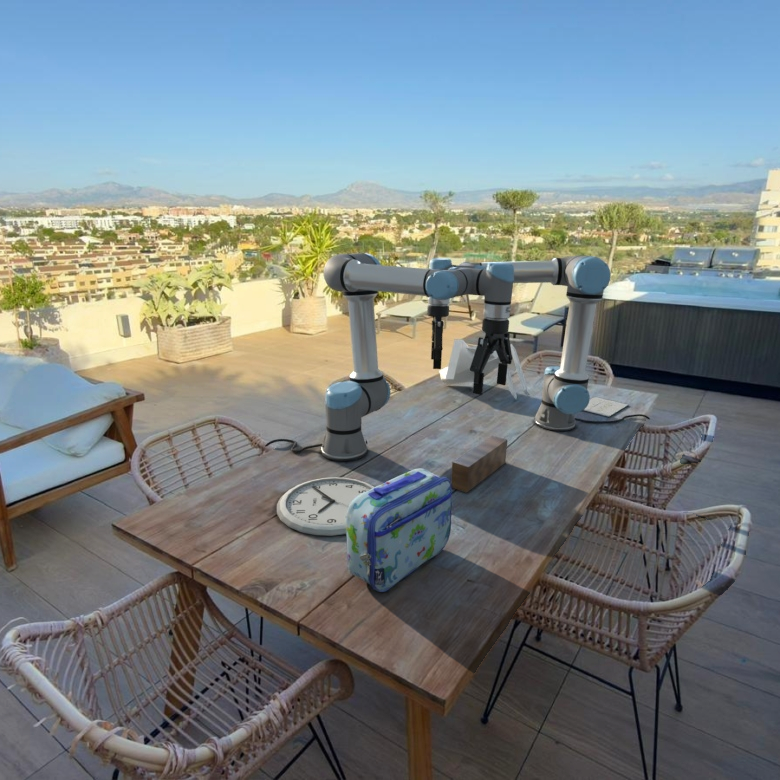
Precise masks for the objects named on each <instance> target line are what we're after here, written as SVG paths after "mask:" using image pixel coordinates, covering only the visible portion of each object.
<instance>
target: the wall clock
mask: <svg viewBox="0 0 780 780" xmlns="http://www.w3.org/2000/svg"><path fill="white" fill-rule="evenodd" d="M375 487H376V486H374V485H372V484H371V483H369V482H365V481H362V480H359V479H355V478H349V477H338V476H337V477H335V476H333V477H332V476H331V477H322V478H317V479H312V480H307V481H305V482H302V483H299V484H297V485H295V486H293V487H292V488H290V489H288V490H287V491H286V492H285V493H284V494H283V495H281V496H280V498H279V499H278V502H277V503H276V515H277V517H278V518H279V520H280V521H281V522H282V523H283V524H285V525H286V526H287V527H288V528H290V529H293V530H295V531H297V532H299V533H303V534H308V535H312V536H327V537H328V536H329V537H331V536H332V537H333V536H342V535H346V515H347V510H348V507H349V505H350V504H351V502H352V501H353V500H354V498H356V497H357V496H358V495H360V494H362V493H364V492H366V491H368V490H370V489H373V488H375Z"/></svg>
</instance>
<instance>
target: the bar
mask: <svg viewBox="0 0 780 780" xmlns="http://www.w3.org/2000/svg"><path fill="white" fill-rule="evenodd" d="M507 446H508V439H507V438H503V437H500V436H496V435H491V436H489V437H488V438H487V439H485V440H483V441H482V442H480V443H479V444H478V445H476V446H474V447H473V448H471V449H469V450H468V451H467V452H465V453H464V454H462V455H460V456H459V457H458V458H456V459H455V460H453V461H451V476H450V477H451V478H450V482H451V489H454V490H457V491H460V492H463V493H467V494H468V493H469V492H470V491H471V490H472V489H474V488H475V487H477V486H478V485H479V484H480V483H481V482H483V481H484V480H486V479H487V478H488V477H489V476H490V475H492V474H493V473H494V472H495V471H497V470H498V469H499V468H501V467H502V466H503V465H504V464H506V460H507Z"/></svg>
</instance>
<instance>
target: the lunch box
mask: <svg viewBox="0 0 780 780" xmlns="http://www.w3.org/2000/svg"><path fill="white" fill-rule="evenodd" d="M374 487H375V488H373V489H370V490H368V491H366V492H364V493H362V494H360V495H358V496H357V497H356V498H354V500H353V501H352V502H351V504H350V505H349V507H348V510H347V515H346V534H345V535H346V559H347V561H346V562H347V567H348V571H349V573H350V574H351V575H353V576H354V577H357V578H358V579H361V580H362V581H364V582H365V583H366V584H368V585H370V587H371V588H372V589H373V590H375V591H377V592H379V593H385V592H387V591H389V590H390V589H392V588H393V587H394V586H395V585H396V584H397V583H399V582H401V581H402V580H403V579H404V578H406V577H408V576H409V575H411V573H413V572H414V571H415V570H417V569H418V568H419V567H420V566H422V564H424V563H426V562H428V560H431V559H433V558H435V557H436V556H437V555H438V554H440V553H441V552H442V551H443V550H444V549H445V547H446V546H447V543H448V541H449V539H450V536H451V531H452V511H453V510H452V509H453V508H452V507H453V504H452V503H453V501H452V500H453V499H452V488H451V479H449V478H448V477H446V476H439V475H437V474H435V473H433V472H432V471H429V470H428V469H426V468H423V467H421V468H419V467H418V468H414V469H412V470H409V471H406V472H405V473H403V474H400V475H398V476H396V477H394V478H391V479H390V480H387V481H385V482H383V483H381V484H378V485H376V486H374Z"/></svg>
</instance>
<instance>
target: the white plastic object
mask: <svg viewBox="0 0 780 780" xmlns="http://www.w3.org/2000/svg"><path fill="white" fill-rule="evenodd" d="M510 346H511V352H512V361H513V363H514V366H515V369H516V372H517V376H518V380H519V382H520V385H521V389H522V391H523V393H524V395H525V396H526V397H528V396H531V395H530V390H529V388H528V387H529V386H528V384H527V381H526V378H525V375H524V371H523V369H522V368H523V367H522V366H521V362H520V359H519V355H518V352H517V349H516V347H515V346H514V345H513V343H510ZM476 348H477V345H473V346H469V345H468V343H466V342H465V340H464V339H463V338H460V339H458V338H454V340H453V344H452V349H451V353H450V357H449V362H448V366H446V367H444V368H441V369H438V370H439V371H438V372H439V376H440V381H442V383H443V384H444V385H445V386H449V385H458V384H467V383H468V384H469V383H474V372H472V371H470V367H471V364H472V360H473V357H474V354H475V351H476ZM507 356H508V355H507ZM499 363H502V362H500V359H499V357H498V355H497V352H496V350H495V351H494V352H493V353H492V354H491V355H490V357H489V359H488V361H487V363H486V365H485V367H484V370H483V372H482V373H484V378H485V377H486V376H487V375H489V374H490V373H492V372H494V371H495V370H496V369H498V364H499ZM506 385H507V386H508V390H509V393H510V394H511V395H512V397H513V398H514V399H515V400H517V392H516V391H517V390H516V388H515V385H514V381H513V378H512V375H511V371H510V369H509V366H508V367H507V376H506Z"/></svg>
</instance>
